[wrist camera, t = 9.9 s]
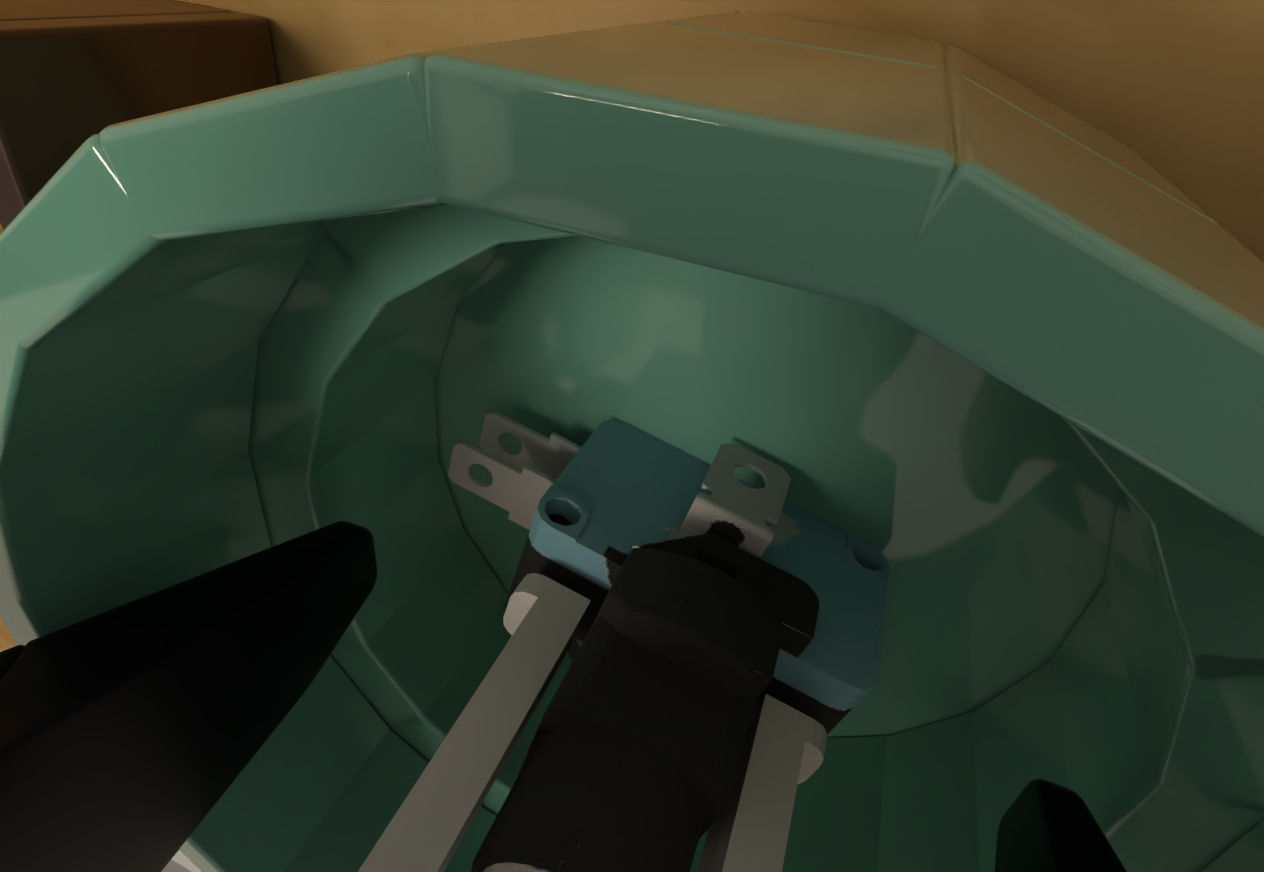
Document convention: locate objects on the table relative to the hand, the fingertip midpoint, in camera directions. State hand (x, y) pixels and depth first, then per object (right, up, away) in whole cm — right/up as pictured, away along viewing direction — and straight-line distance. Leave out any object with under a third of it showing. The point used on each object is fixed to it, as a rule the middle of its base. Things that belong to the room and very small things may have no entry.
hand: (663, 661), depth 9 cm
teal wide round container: (+1, +2, +3) cm, 4 cm away
